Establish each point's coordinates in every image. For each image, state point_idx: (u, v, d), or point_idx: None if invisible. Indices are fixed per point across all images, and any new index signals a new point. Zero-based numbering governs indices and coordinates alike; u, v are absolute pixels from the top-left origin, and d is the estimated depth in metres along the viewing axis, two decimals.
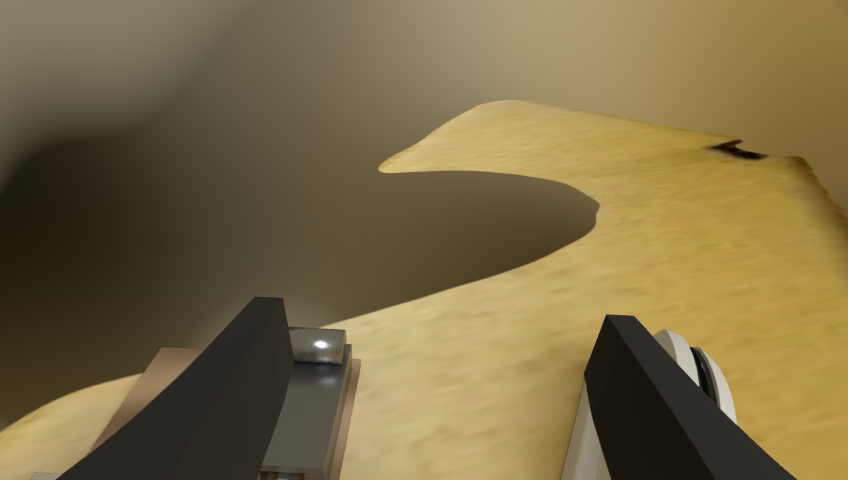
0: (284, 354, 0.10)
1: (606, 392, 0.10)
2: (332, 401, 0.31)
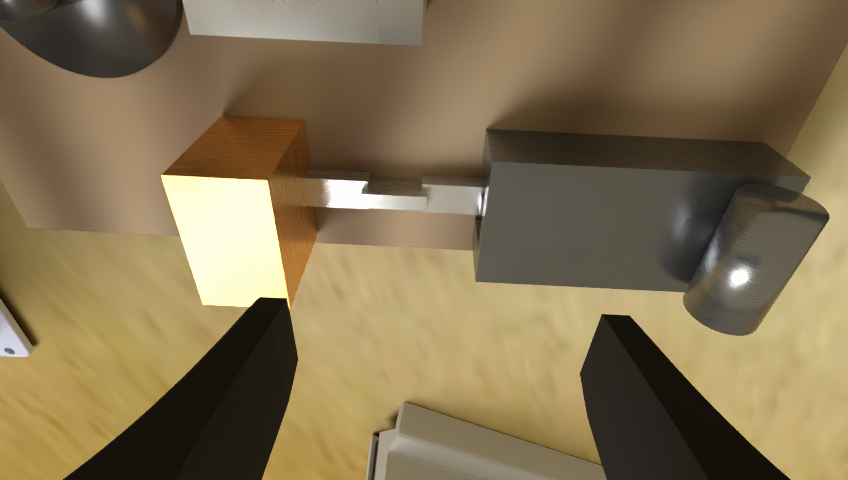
0: (288, 354, 0.11)
1: (602, 392, 0.10)
2: (603, 279, 0.17)
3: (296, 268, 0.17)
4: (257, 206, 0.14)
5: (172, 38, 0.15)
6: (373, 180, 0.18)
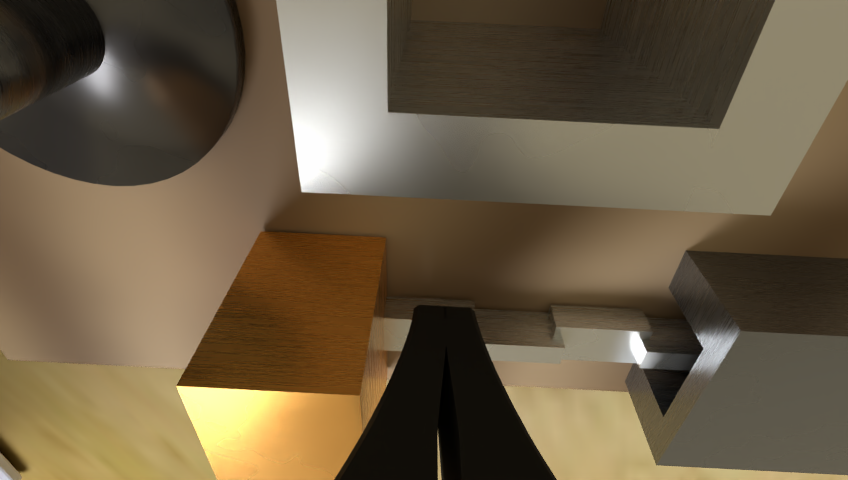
0: None
1: None
2: (847, 465, 0.12)
3: None
4: (338, 425, 0.08)
5: (225, 129, 0.10)
6: (478, 313, 0.12)
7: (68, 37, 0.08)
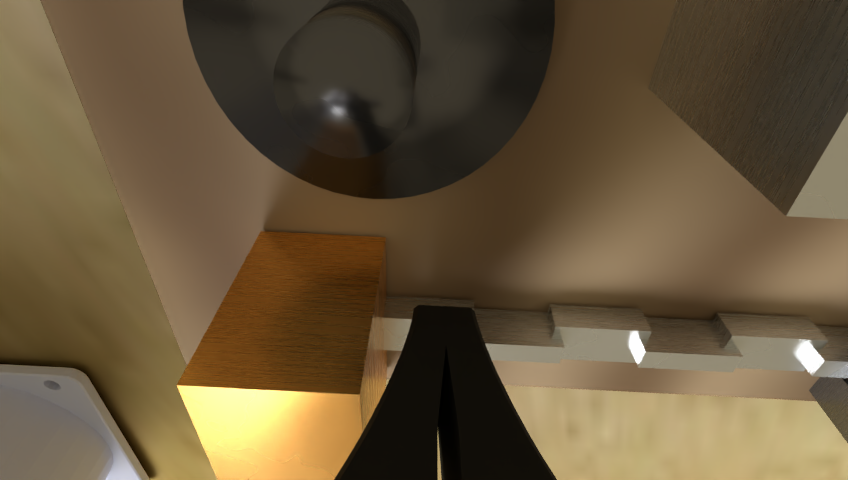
0: None
1: None
2: None
3: None
4: (338, 424, 0.08)
5: None
6: (478, 313, 0.12)
7: (417, 55, 0.08)
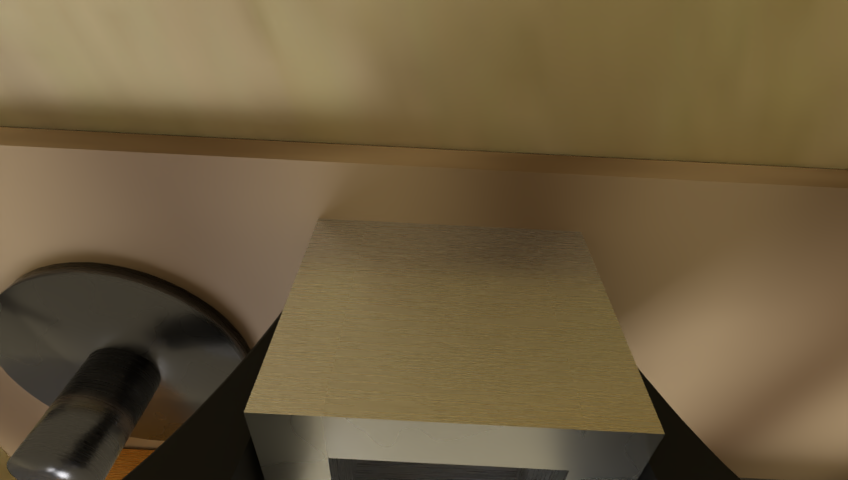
0: None
1: None
2: None
3: None
4: None
5: None
6: None
7: (141, 400, 0.11)
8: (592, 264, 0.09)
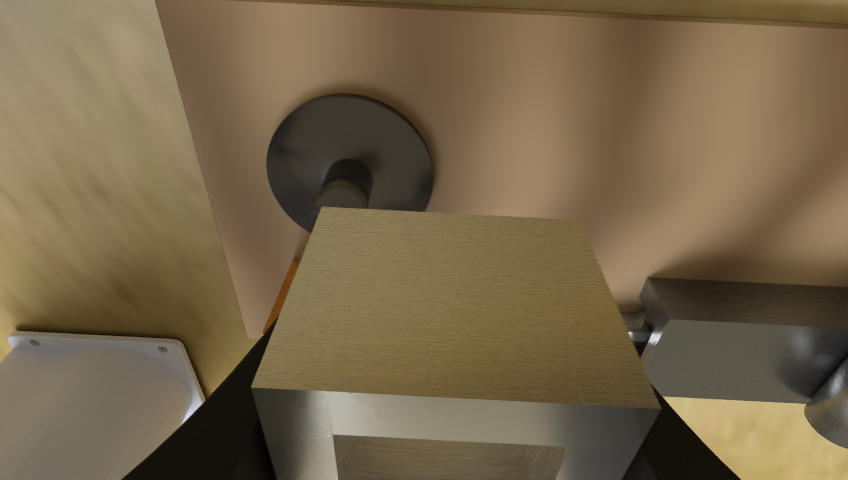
0: None
1: None
2: (737, 394, 0.22)
3: None
4: None
5: None
6: None
7: (370, 190, 0.17)
8: (591, 251, 0.09)
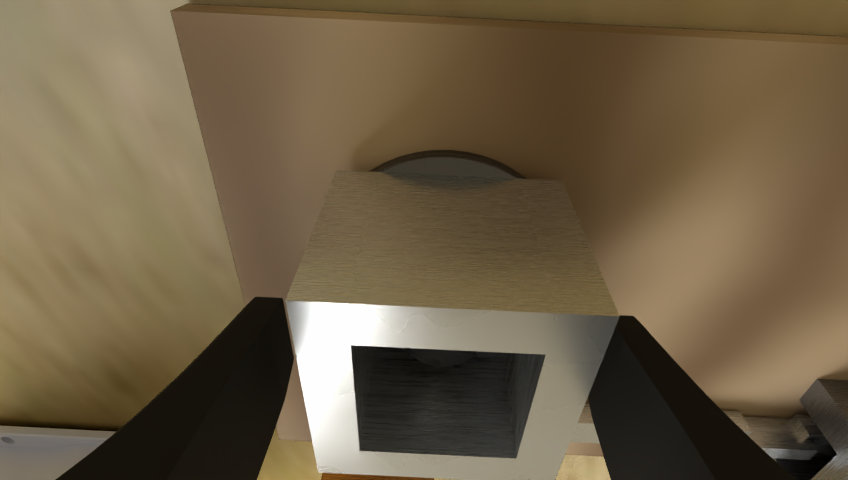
0: (284, 354, 0.11)
1: (606, 392, 0.10)
2: None
3: None
4: None
5: None
6: None
7: None
8: (569, 204, 0.10)
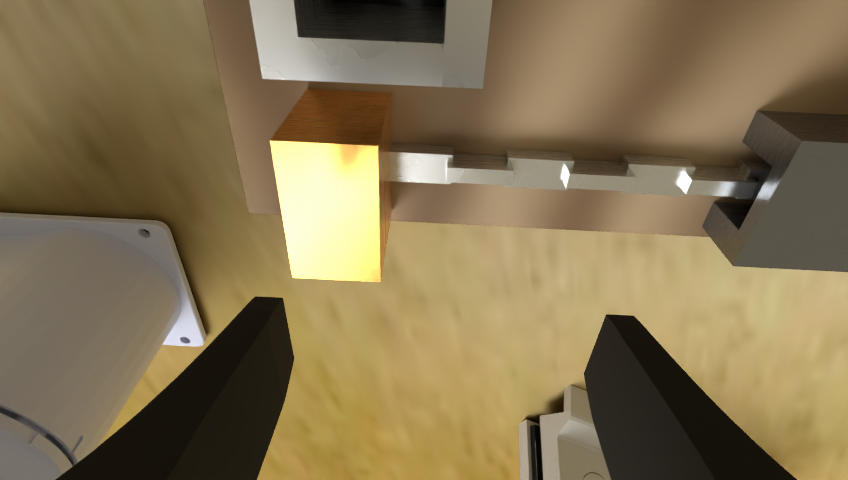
0: (284, 354, 0.11)
1: (607, 392, 0.10)
2: None
3: (384, 242, 0.16)
4: (364, 173, 0.14)
5: None
6: (455, 155, 0.18)
7: None
8: None
